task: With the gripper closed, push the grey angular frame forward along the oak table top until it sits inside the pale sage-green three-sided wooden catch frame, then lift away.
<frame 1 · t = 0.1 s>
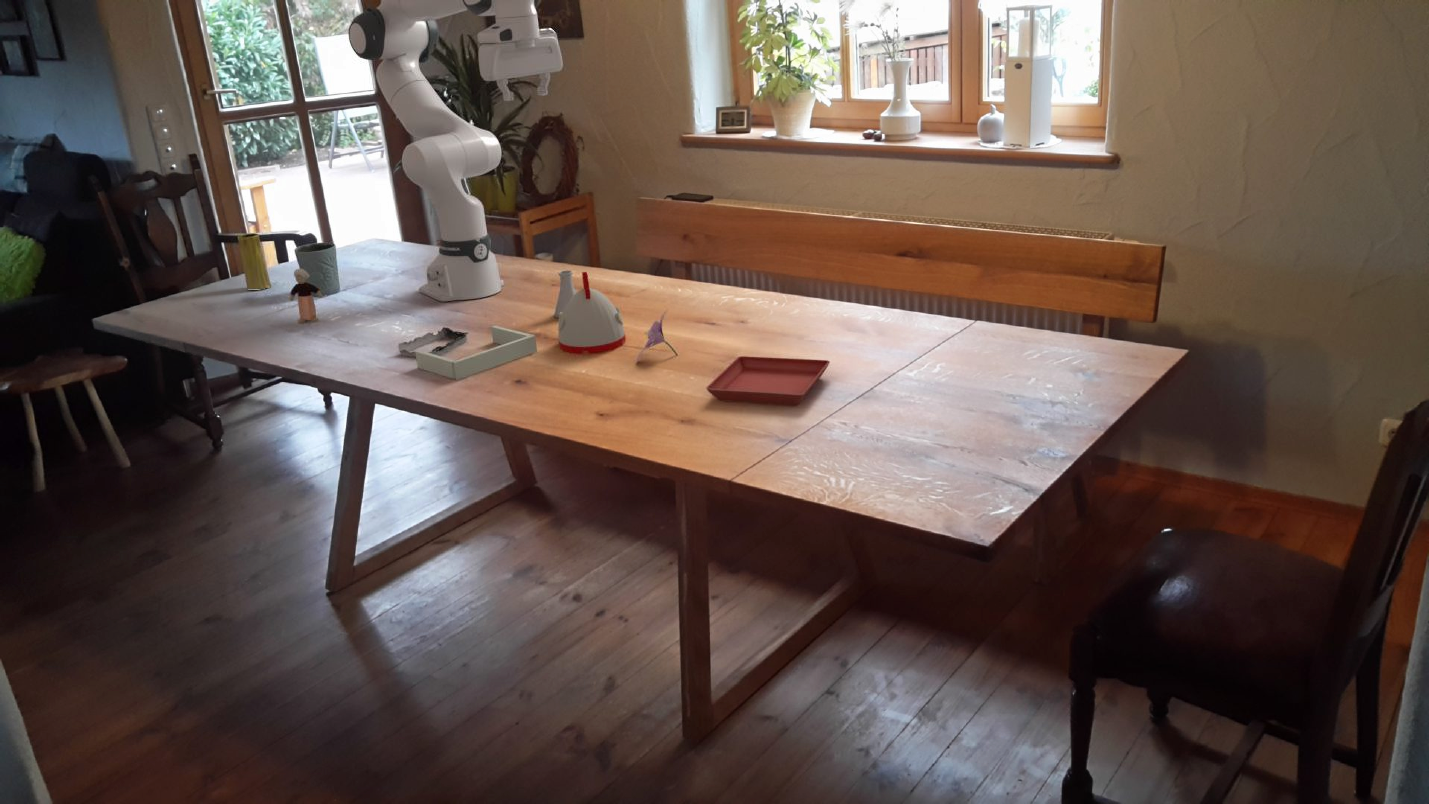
hand: (526, 97, 246), 48 cm above the table, tool pointing down, fingers open, 8 cm apart
lily: (656, 358, 226), on the table
catch frame: (477, 359, 232), on the table
plant saucer: (770, 391, 205), on the table
vase: (259, 288, 302), on the table
grandmother figurine: (310, 321, 268), on the table
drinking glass: (323, 293, 293), on the table
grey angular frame: (438, 351, 241), on the table
flask: (570, 315, 259), on the table
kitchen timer: (592, 344, 237), on the table
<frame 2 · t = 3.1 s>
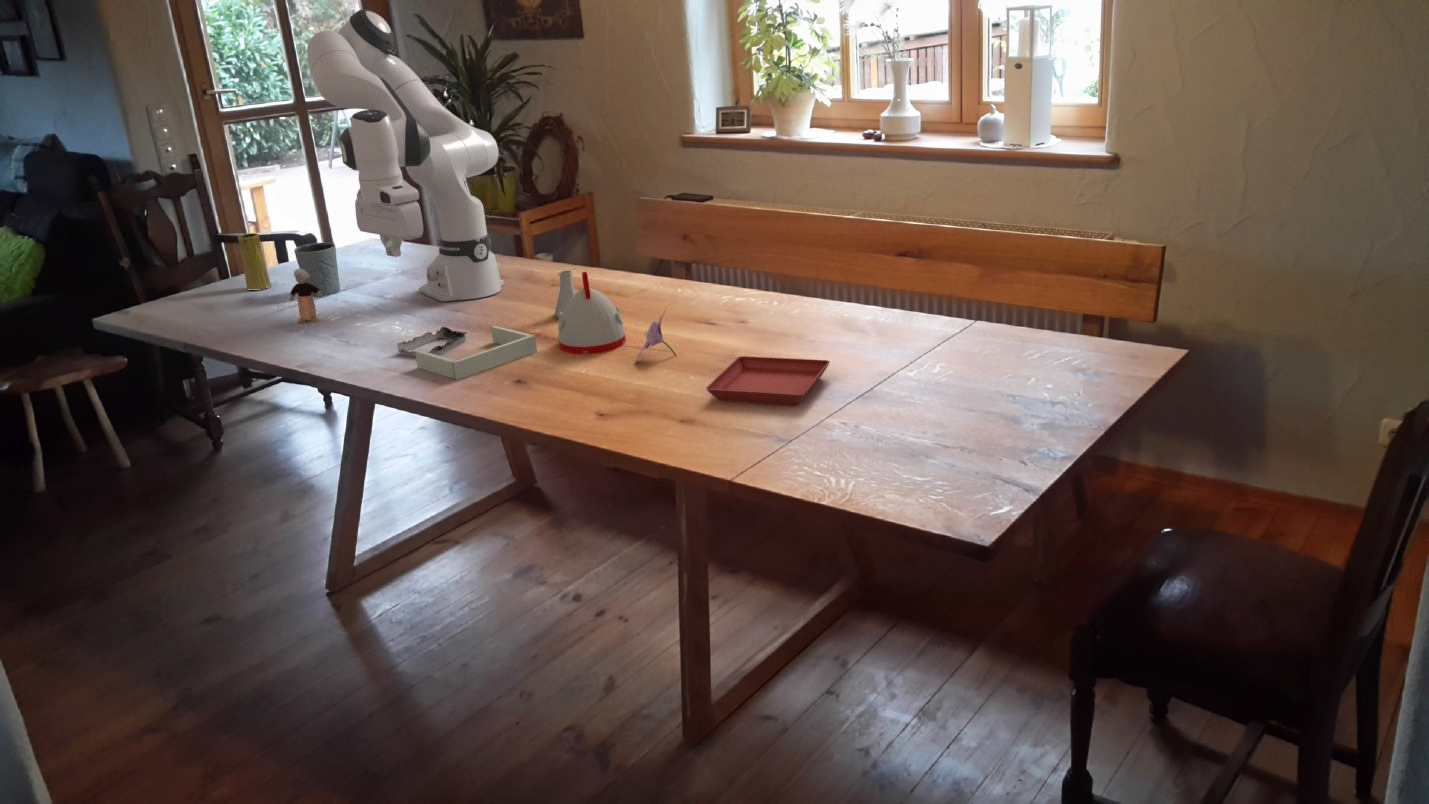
hand: (394, 255, 241), 19 cm above the table, tool pointing down, fingers closed
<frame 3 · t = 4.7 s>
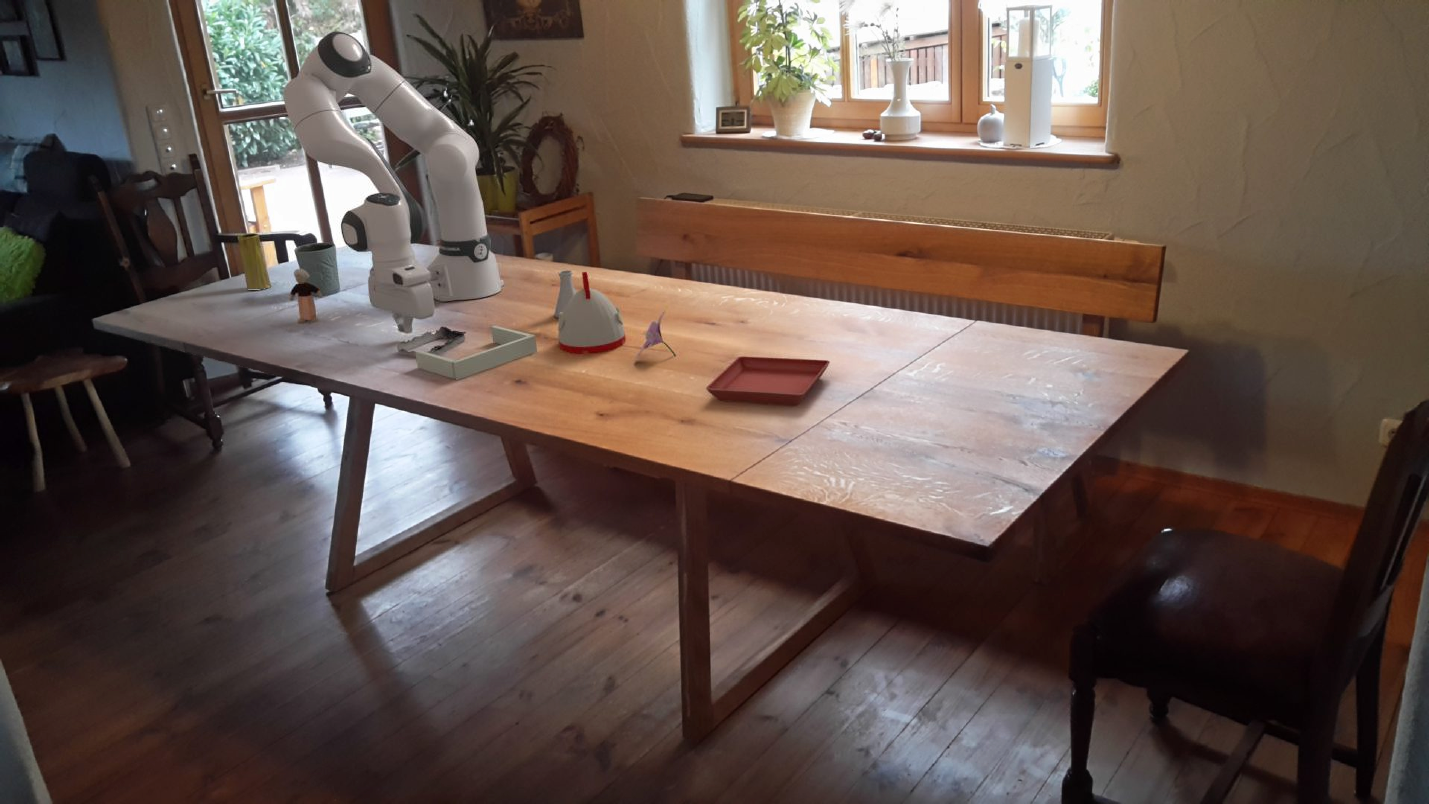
hand: (405, 332, 247), 2 cm above the table, tool pointing down, fingers closed
nothing on the table moved.
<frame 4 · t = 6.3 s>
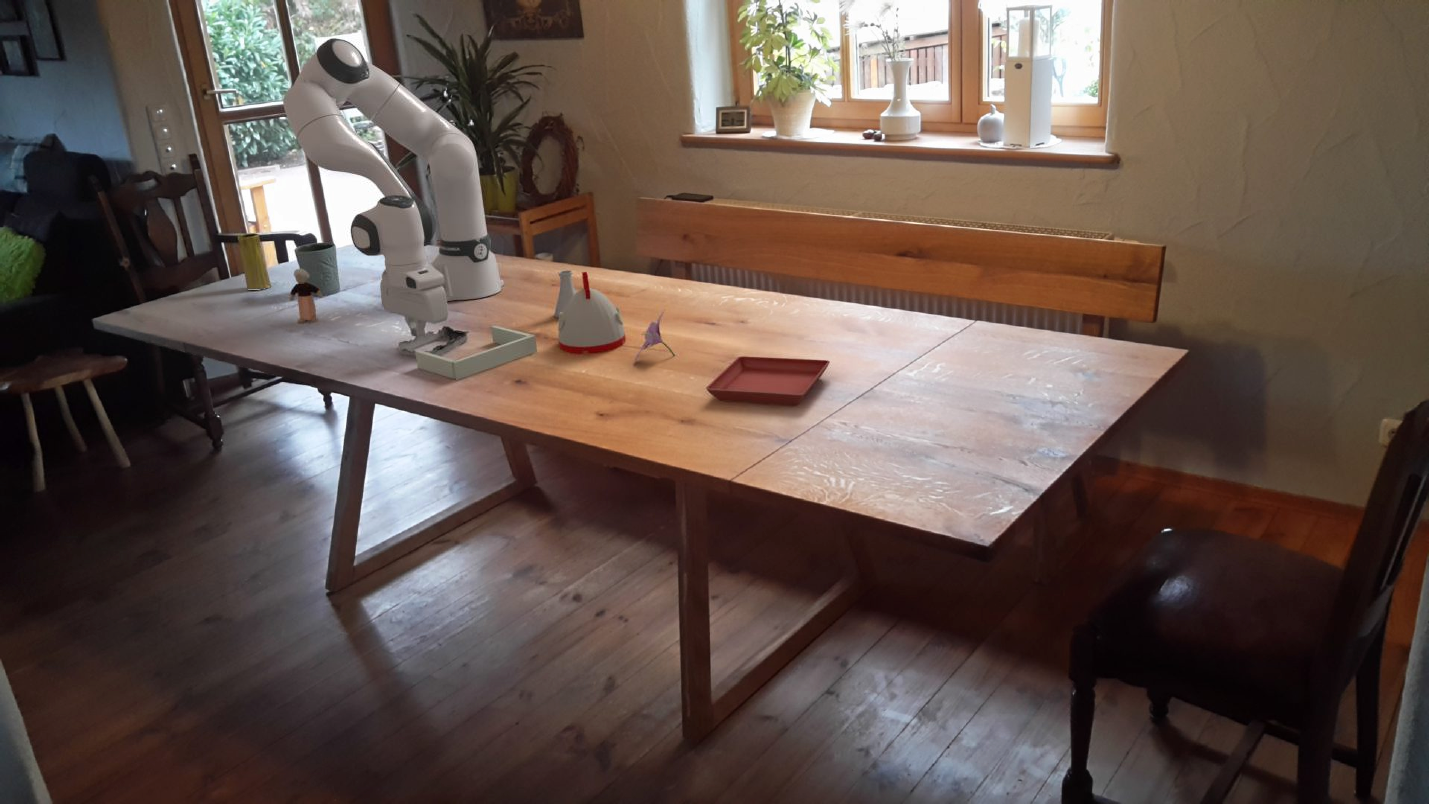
hand: (418, 336, 244), 2 cm above the table, tool pointing down, fingers closed
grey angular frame: (438, 349, 241), on the table, touching gripper
everything else where it was.
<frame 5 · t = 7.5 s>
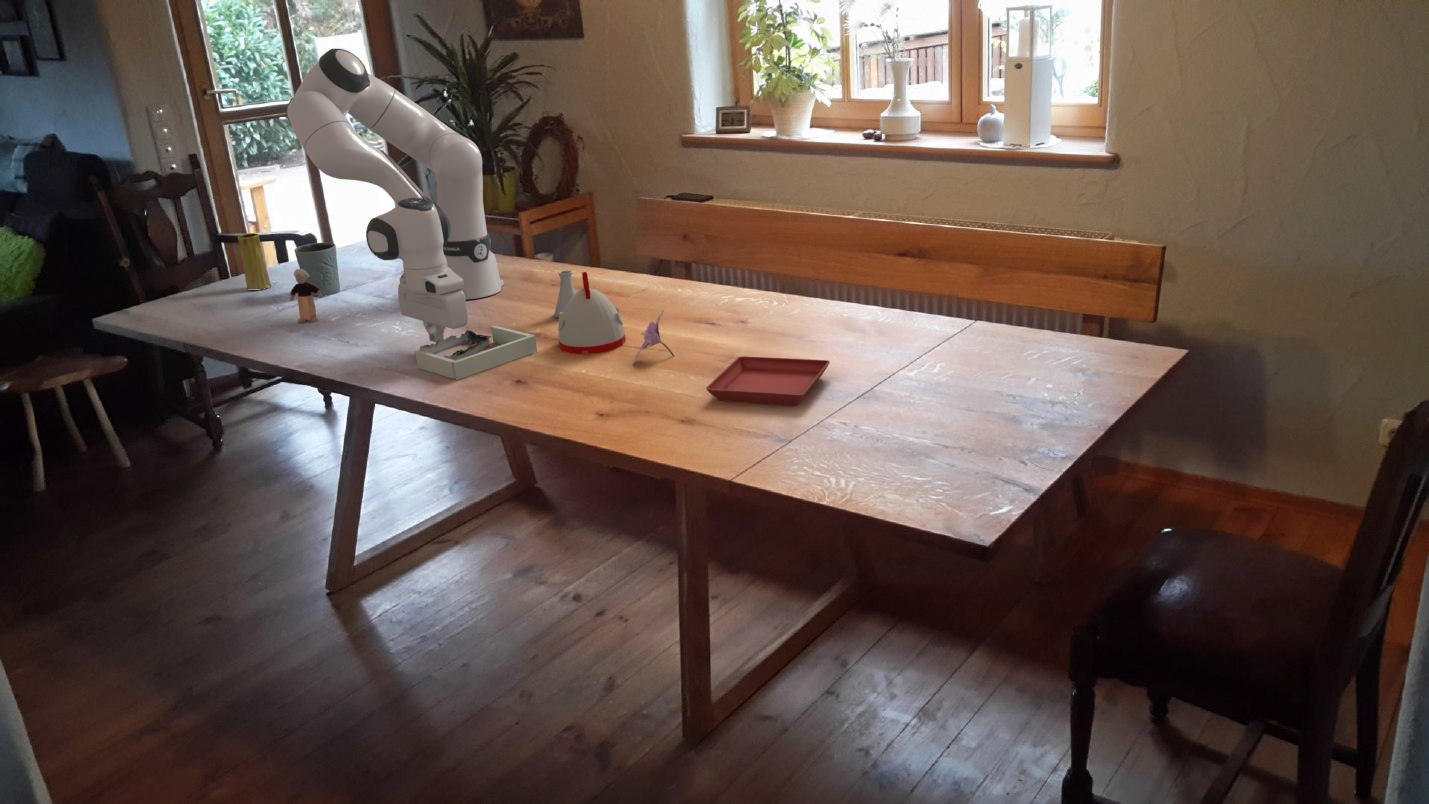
hand: (437, 341, 239), 2 cm above the table, tool pointing down, fingers closed
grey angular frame: (459, 354, 237), on the table, touching gripper
everything else where it was.
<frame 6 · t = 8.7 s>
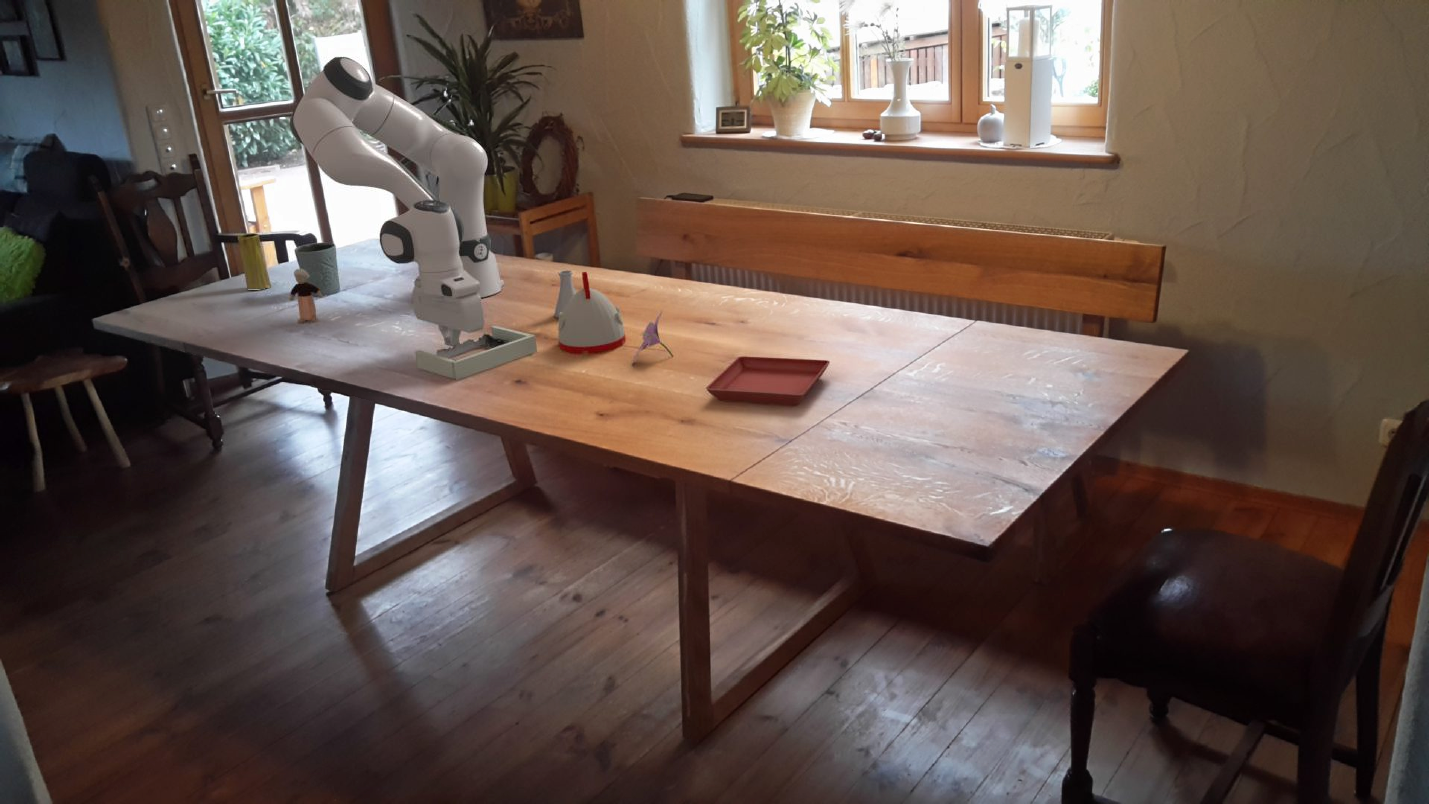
hand: (452, 345, 236), 2 cm above the table, tool pointing down, fingers closed
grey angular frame: (477, 358, 234), on the table, touching gripper
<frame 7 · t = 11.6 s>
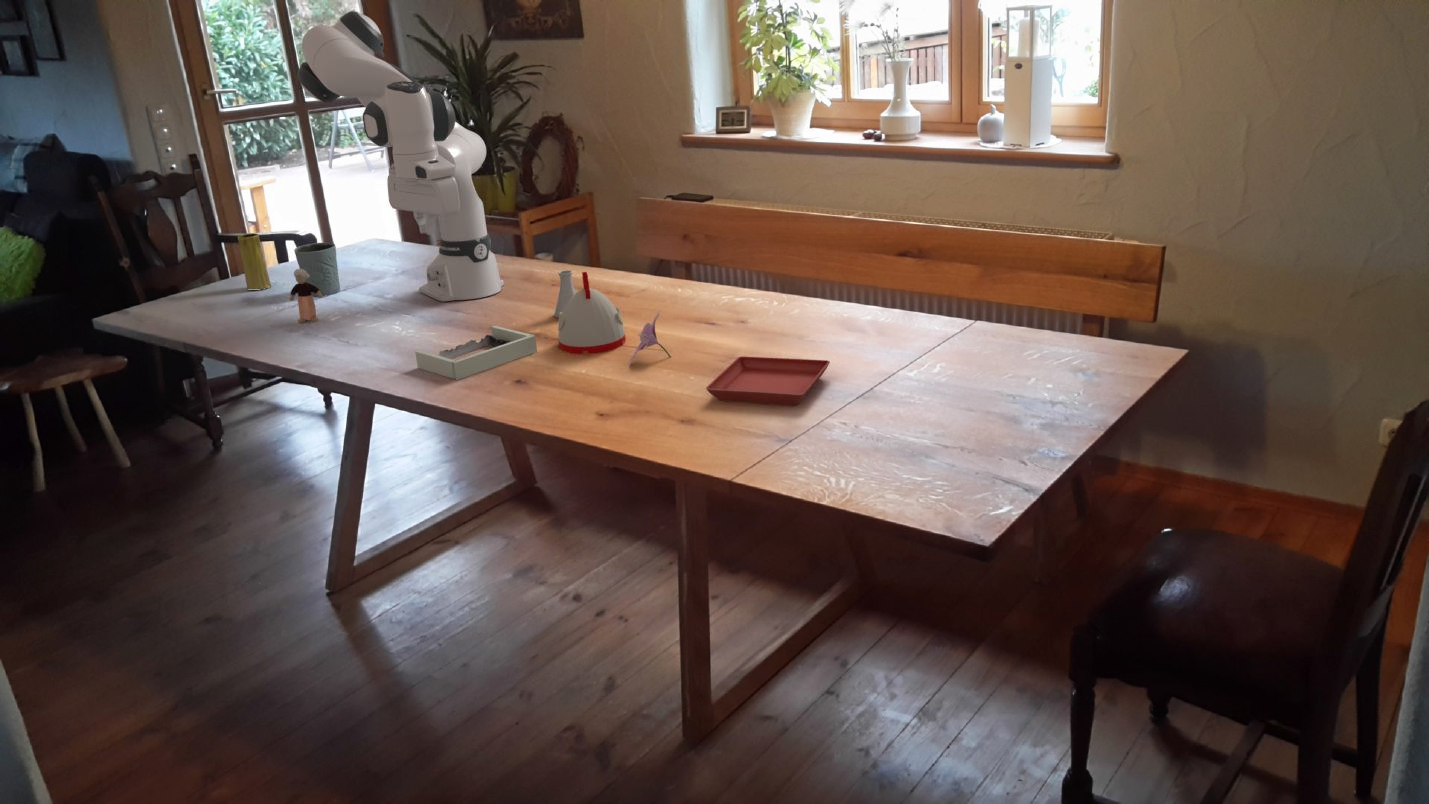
hand: (427, 233, 232), 25 cm above the table, tool pointing down, fingers closed
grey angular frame: (479, 359, 234), on the table
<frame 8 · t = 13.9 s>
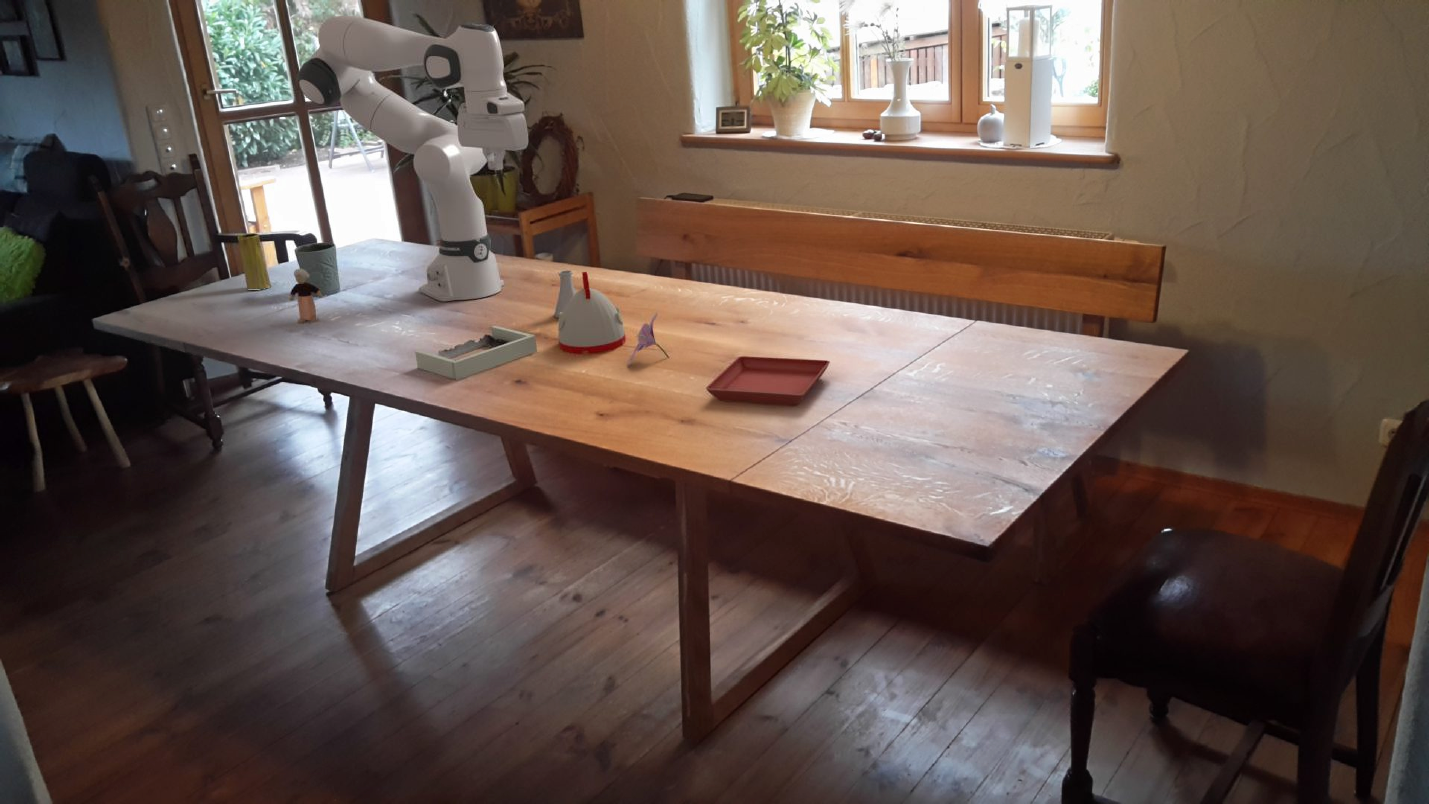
hand: (496, 169, 244), 34 cm above the table, tool pointing down, fingers closed
at the end: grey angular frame inside the target area (2.3 cm from its centre), on the table; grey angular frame moved 12.5 cm from its start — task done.
